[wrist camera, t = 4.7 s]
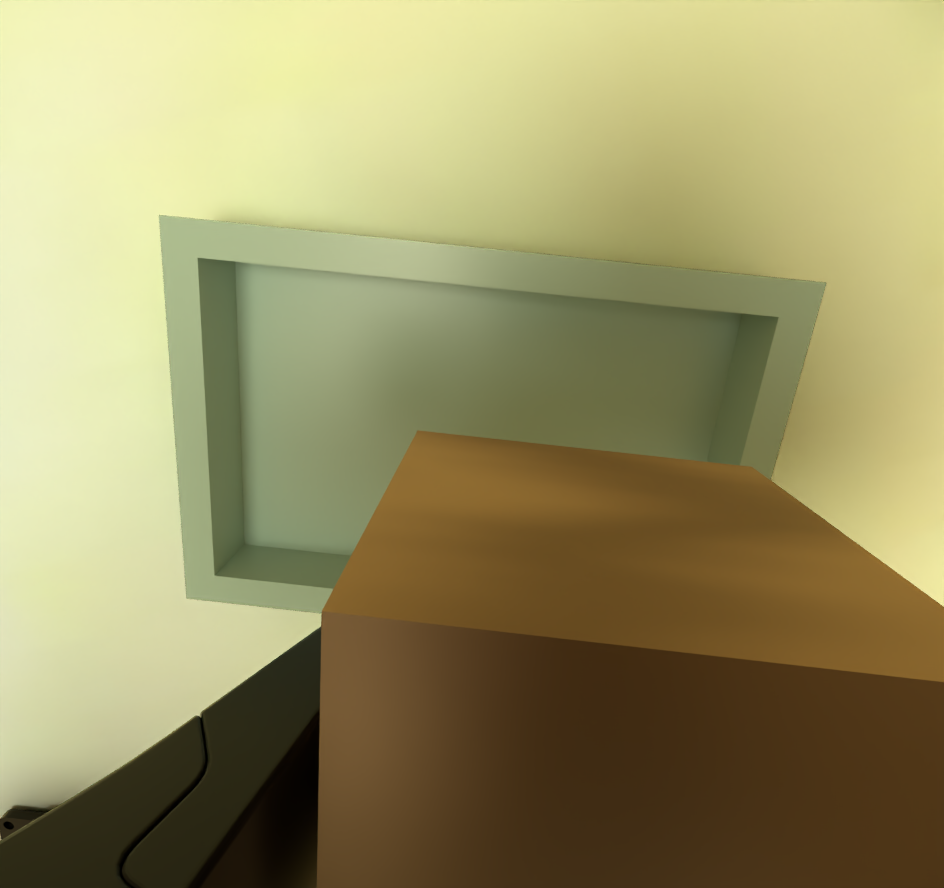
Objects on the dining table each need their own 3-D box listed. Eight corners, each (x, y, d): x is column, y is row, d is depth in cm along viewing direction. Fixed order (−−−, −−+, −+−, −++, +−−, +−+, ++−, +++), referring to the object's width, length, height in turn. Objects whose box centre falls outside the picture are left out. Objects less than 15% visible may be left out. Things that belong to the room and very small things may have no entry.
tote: (688, 604, 21) (720, 657, 18) (229, 554, 21) (186, 598, 18) (770, 282, 17) (826, 282, 14) (214, 226, 17) (158, 215, 14)
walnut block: (751, 466, 9) (1064, 695, 4) (678, 732, 10) (835, 1121, 6) (417, 430, 9) (320, 611, 4) (397, 698, 10) (313, 1057, 6)
